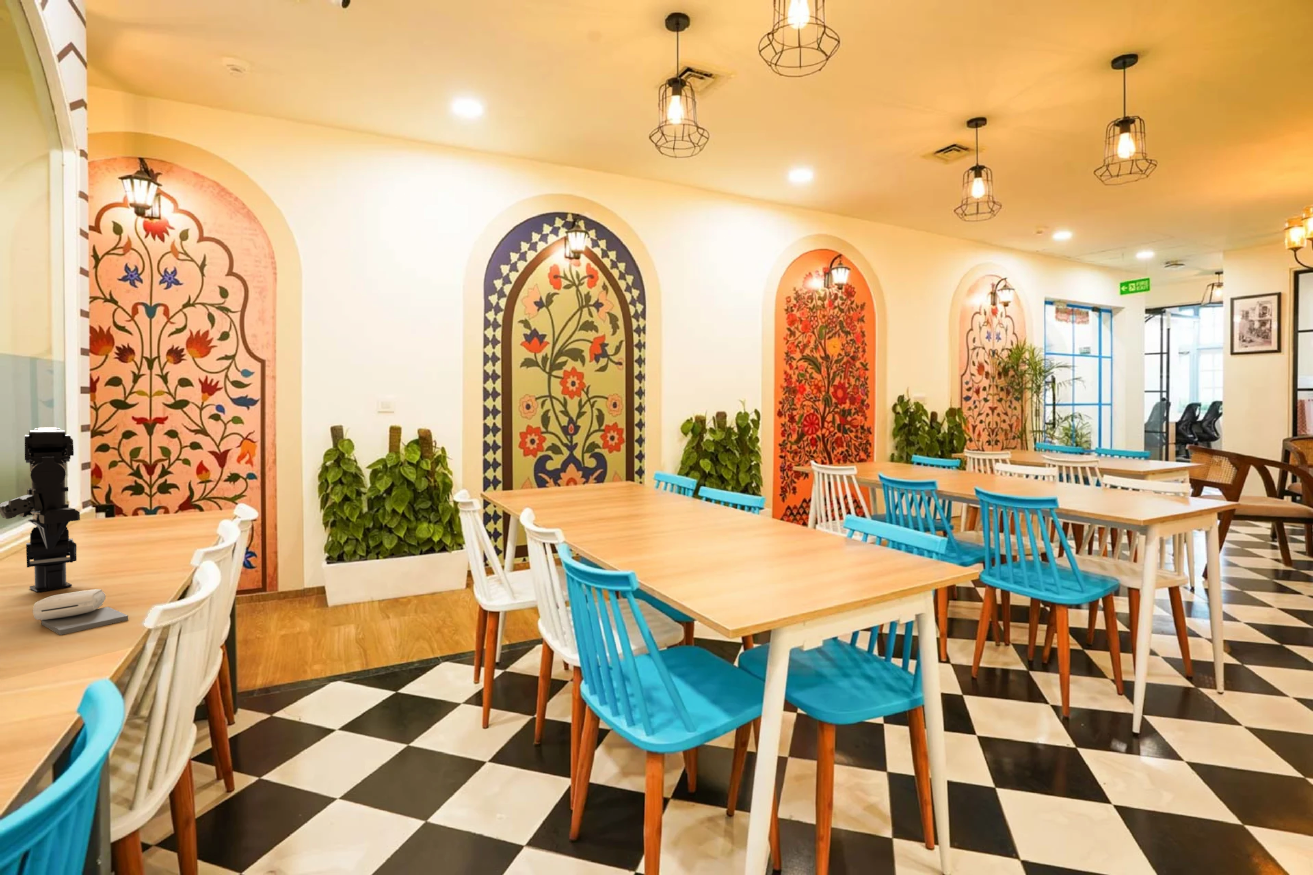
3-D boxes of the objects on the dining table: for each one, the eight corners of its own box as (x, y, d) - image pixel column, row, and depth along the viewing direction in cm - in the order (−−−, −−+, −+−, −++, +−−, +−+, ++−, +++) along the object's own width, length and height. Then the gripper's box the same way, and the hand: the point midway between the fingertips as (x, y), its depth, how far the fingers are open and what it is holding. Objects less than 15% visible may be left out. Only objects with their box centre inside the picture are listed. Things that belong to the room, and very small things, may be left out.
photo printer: (105, 586, 144) (93, 592, 133) (107, 605, 143) (95, 613, 133) (44, 595, 138) (27, 602, 128) (45, 614, 138) (28, 623, 127)
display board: (41, 624, 131) (41, 619, 131) (108, 610, 141) (108, 606, 141) (59, 634, 125) (59, 630, 125) (128, 620, 135) (128, 615, 135)
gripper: (-12, 483, 146) (-10, 549, 146) (12, 489, 136) (14, 560, 137) (52, 479, 155) (54, 541, 156) (80, 484, 145) (81, 551, 146)
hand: (50, 548), depth 148 cm, fingers closed
